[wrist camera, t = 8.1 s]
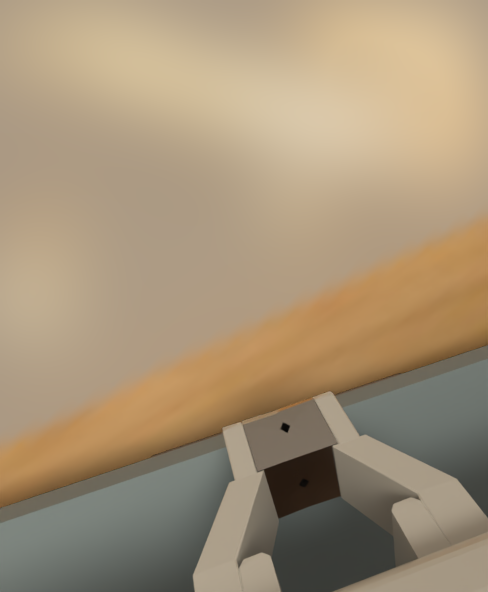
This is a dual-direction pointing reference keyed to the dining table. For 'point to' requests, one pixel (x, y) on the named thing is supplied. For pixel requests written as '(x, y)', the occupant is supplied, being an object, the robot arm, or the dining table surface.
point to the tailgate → (212, 486)
